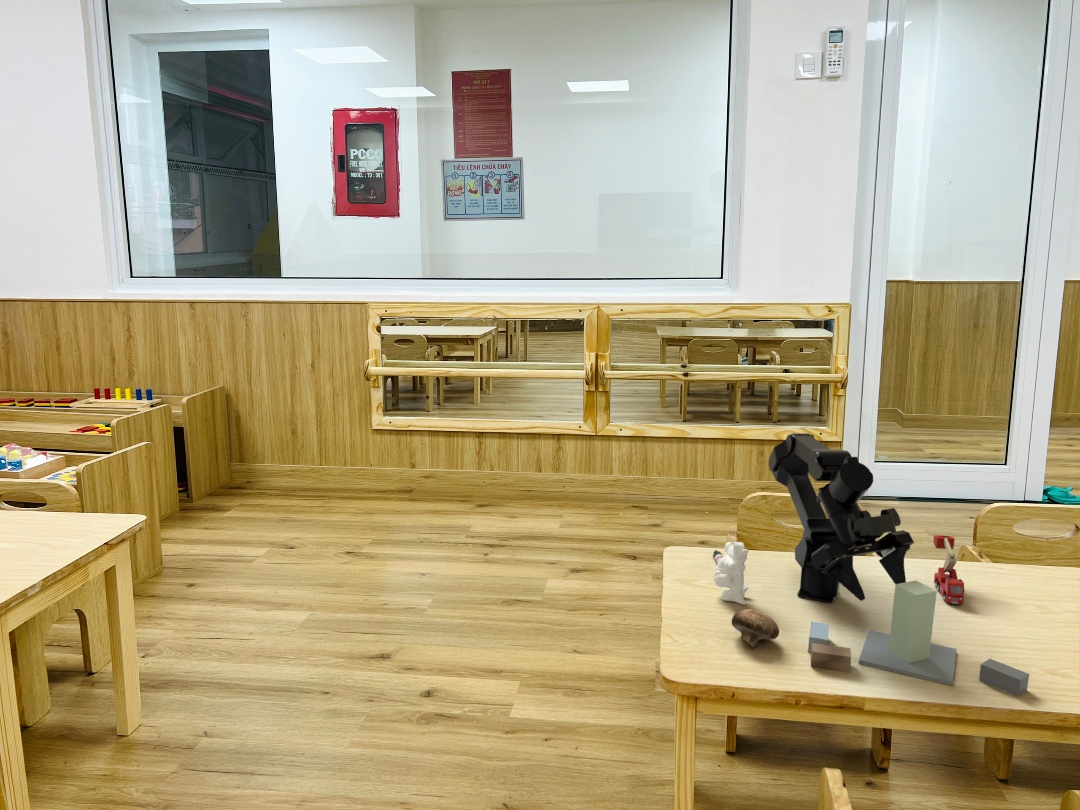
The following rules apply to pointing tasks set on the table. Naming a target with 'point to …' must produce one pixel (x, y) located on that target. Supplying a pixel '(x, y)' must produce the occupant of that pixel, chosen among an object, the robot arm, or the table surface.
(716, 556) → the marker
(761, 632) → the mushroom
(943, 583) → the toy fire truck
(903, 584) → the sage brick
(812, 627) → the dusty blue brick
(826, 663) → the walnut brick
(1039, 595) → the table surface
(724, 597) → the white toy figurine
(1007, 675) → the charcoal brick
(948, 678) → the slate mat
